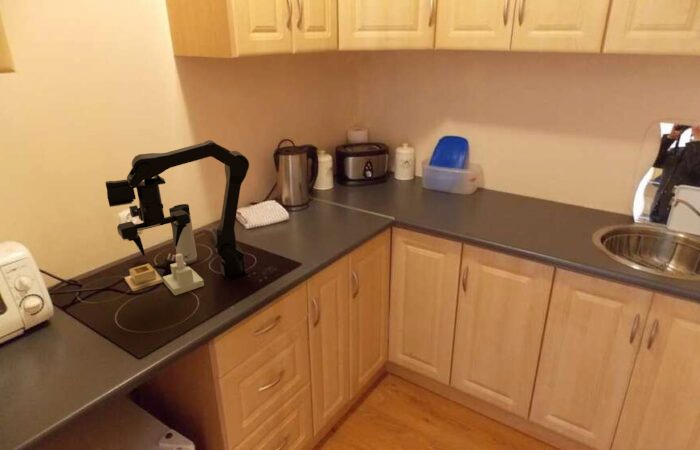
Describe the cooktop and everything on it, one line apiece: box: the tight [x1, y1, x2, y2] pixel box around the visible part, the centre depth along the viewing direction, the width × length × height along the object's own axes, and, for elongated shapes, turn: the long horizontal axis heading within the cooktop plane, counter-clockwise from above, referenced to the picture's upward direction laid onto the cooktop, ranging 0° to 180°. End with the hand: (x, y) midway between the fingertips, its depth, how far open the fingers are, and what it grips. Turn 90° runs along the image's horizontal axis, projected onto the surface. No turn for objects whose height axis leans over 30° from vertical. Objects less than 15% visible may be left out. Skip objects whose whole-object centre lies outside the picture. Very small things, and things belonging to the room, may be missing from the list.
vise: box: [162, 253, 205, 296], centre depth 141 cm, size 9×10×10 cm
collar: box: [128, 262, 156, 285], centre depth 144 cm, size 6×6×3 cm
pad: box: [123, 270, 164, 292], centre depth 145 cm, size 9×9×1 cm
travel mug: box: [168, 203, 198, 265], centre depth 154 cm, size 6×7×20 cm
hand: (159, 250), depth 135 cm, fingers open, 9 cm apart
